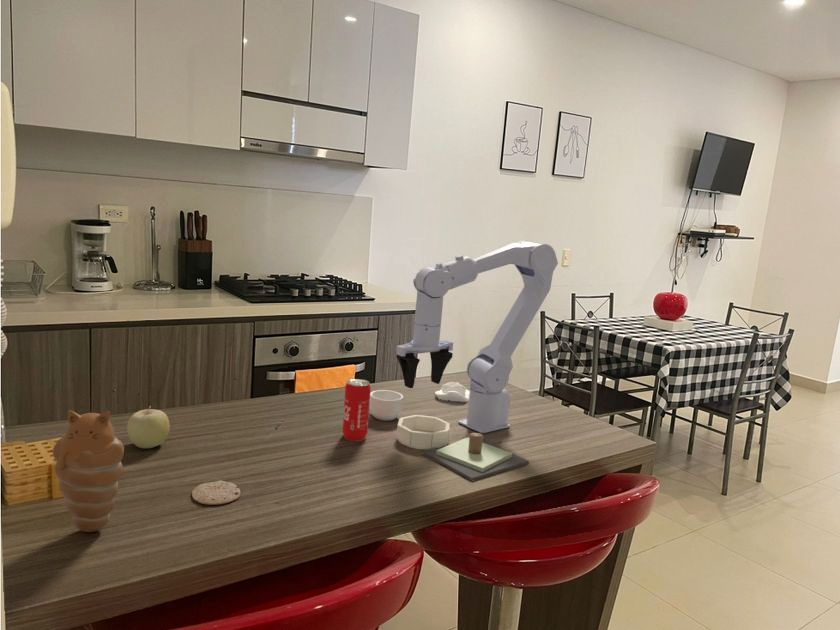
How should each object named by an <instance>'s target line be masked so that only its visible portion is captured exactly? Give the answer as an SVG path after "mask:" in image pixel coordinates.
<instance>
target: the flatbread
mask: <svg viewBox="0 0 840 630" xmlns="http://www.w3.org/2000/svg"><path fill="white" fill-rule="evenodd" d="M240 496H241V489H240V488H239V486H237V485H236V484H235V483H233V482H228V481H225V480H221V479H220V480H216V481H212V482H210V481H209V482H205V483H200V484H198V485H197V486H196V487H195V488H193V490H192V492H191V497H192V499H193V500H194V501H196V502H197V503H200V504H201V505H210V506H211V505H212V506H213V505H214V506H215V505H225V504H227V503H231V502H233V501H236V500H237V499H239V498H240Z"/></svg>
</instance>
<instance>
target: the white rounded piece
mask: <svg viewBox="0 0 840 630" xmlns="http://www.w3.org/2000/svg"><path fill="white" fill-rule="evenodd" d="M469 393H470V389H467V388H466V387H465V386H464V385H462V384H460V383H459V382H454V381H451V382H446V383H445V384H442V385H441V388H440V389H439V390H436V391H435V392H434V395H435V396H436V397H437V399H438V400H440V399H441V401H448V400H450V401H451V402H458V401H460V402H462V403H466V402H467V401H468V402H469ZM468 402H467V403H468Z"/></svg>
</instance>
